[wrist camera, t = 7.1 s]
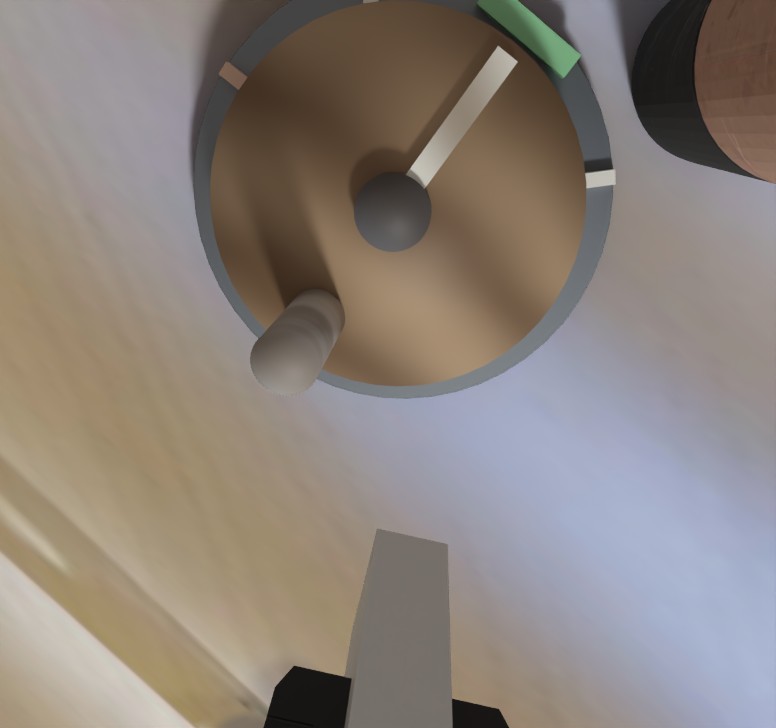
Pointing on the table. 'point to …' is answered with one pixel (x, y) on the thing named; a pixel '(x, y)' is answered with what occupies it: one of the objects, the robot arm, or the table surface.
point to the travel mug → (711, 84)
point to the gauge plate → (559, 62)
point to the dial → (395, 197)
